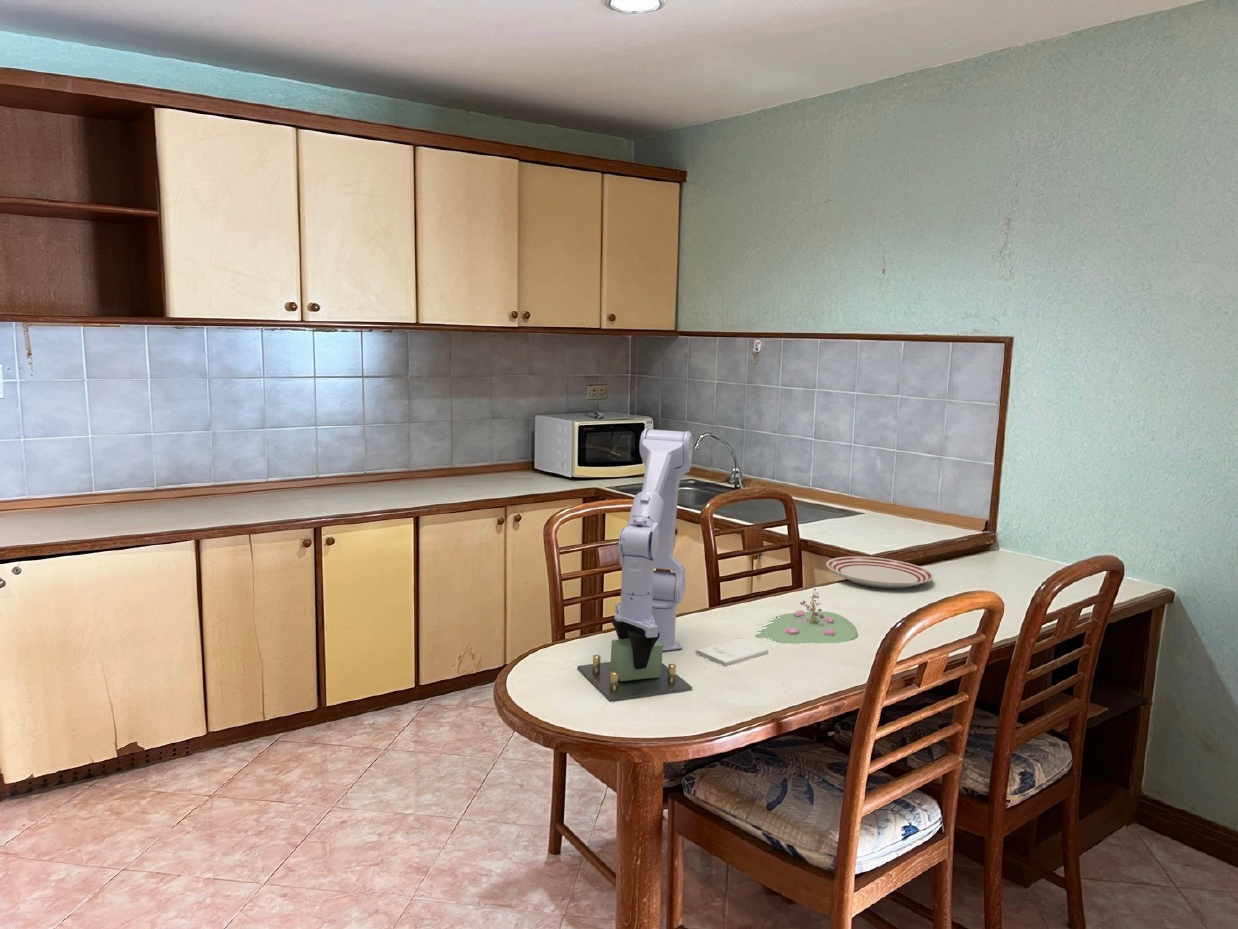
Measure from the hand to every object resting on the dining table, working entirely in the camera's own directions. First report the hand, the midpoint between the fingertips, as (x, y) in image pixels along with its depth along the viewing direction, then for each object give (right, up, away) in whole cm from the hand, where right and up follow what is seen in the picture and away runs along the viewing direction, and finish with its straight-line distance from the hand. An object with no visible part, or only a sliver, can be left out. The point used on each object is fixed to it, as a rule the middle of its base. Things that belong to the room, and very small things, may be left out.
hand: (634, 662), depth 168 cm
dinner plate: (+66, +6, +75) cm, 100 cm away
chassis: (0, -3, 0) cm, 3 cm away
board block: (0, -2, 0) cm, 2 cm away
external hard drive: (+20, -2, +16) cm, 25 cm away
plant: (+37, 0, +32) cm, 49 cm away
